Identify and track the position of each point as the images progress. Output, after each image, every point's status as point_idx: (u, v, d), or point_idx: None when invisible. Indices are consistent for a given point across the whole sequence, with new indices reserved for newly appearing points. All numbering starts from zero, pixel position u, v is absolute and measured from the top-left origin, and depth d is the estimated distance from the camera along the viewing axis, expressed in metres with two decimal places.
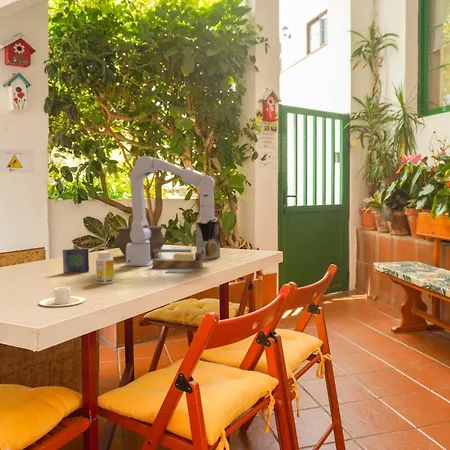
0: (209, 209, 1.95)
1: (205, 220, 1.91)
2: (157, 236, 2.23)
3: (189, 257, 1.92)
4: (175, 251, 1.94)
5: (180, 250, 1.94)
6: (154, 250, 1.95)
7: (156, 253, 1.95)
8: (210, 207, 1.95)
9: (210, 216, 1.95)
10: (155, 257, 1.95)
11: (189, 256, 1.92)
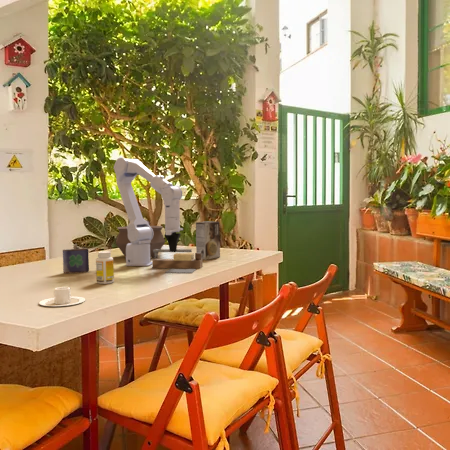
0: (174, 220, 1.91)
1: (169, 232, 1.86)
2: (157, 236, 2.23)
3: (189, 257, 1.92)
4: None
5: (180, 250, 1.94)
6: (154, 250, 1.95)
7: (156, 253, 1.95)
8: (175, 218, 1.91)
9: (175, 227, 1.91)
10: (155, 257, 1.95)
11: (189, 256, 1.92)
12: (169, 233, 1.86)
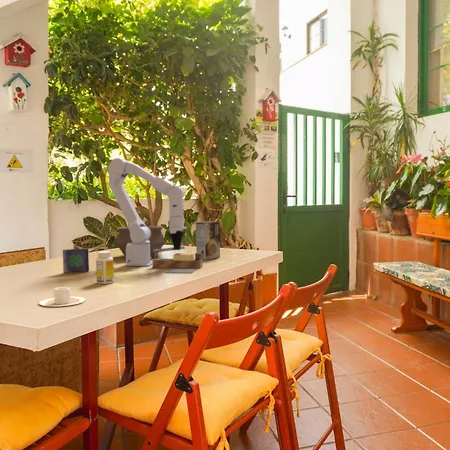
0: (178, 219, 1.97)
1: (173, 230, 1.93)
2: (157, 236, 2.23)
3: (189, 257, 1.92)
4: (172, 249, 2.01)
5: None
6: (157, 250, 1.95)
7: (157, 253, 1.96)
8: (179, 217, 1.98)
9: (179, 226, 1.98)
10: (157, 257, 1.95)
11: (189, 256, 1.92)
12: (173, 231, 1.93)
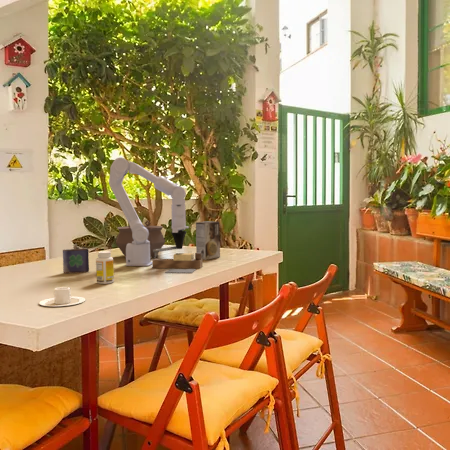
0: (180, 219, 2.01)
1: (176, 229, 1.97)
2: (157, 236, 2.23)
3: (189, 257, 1.92)
4: (170, 249, 2.02)
5: (173, 247, 2.04)
6: (157, 250, 1.95)
7: (157, 253, 1.96)
8: (181, 217, 2.01)
9: (181, 225, 2.02)
10: (157, 257, 1.95)
11: (189, 256, 1.92)
12: (176, 231, 1.97)
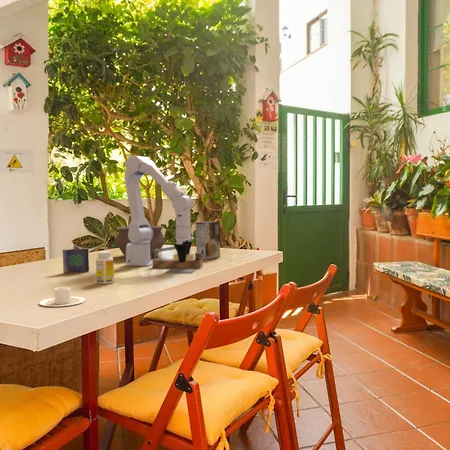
0: (185, 229, 1.91)
1: (180, 241, 1.87)
2: (157, 236, 2.23)
3: (189, 257, 1.92)
4: (170, 249, 2.02)
5: (173, 247, 2.04)
6: (157, 250, 1.95)
7: (157, 253, 1.96)
8: (186, 227, 1.91)
9: (186, 236, 1.91)
10: (157, 257, 1.95)
11: (189, 256, 1.92)
12: (180, 242, 1.87)
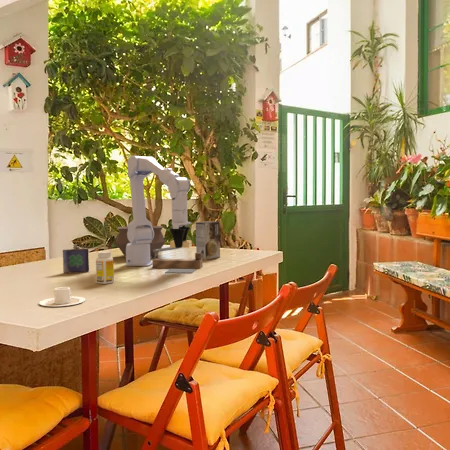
0: (181, 213, 1.81)
1: (176, 225, 1.76)
2: (157, 236, 2.23)
3: (186, 244, 1.81)
4: (170, 249, 2.02)
5: None
6: (157, 250, 1.95)
7: (157, 253, 1.96)
8: (182, 211, 1.81)
9: (182, 221, 1.81)
10: (157, 257, 1.95)
11: (186, 243, 1.81)
12: (176, 227, 1.76)
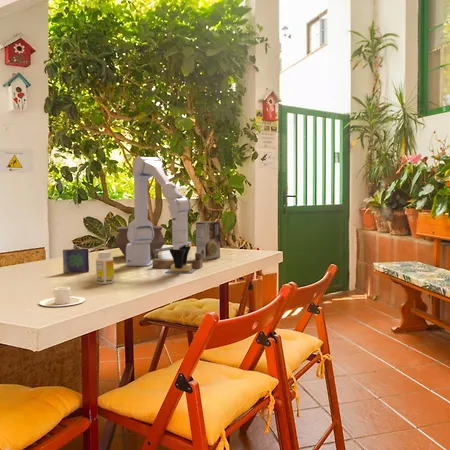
0: (182, 234, 1.81)
1: (177, 246, 1.77)
2: (157, 236, 2.23)
3: (187, 268, 1.82)
4: None
5: None
6: (157, 250, 1.95)
7: (157, 253, 1.96)
8: (183, 232, 1.81)
9: (183, 241, 1.81)
10: (157, 257, 1.95)
11: (187, 267, 1.82)
12: (177, 248, 1.77)
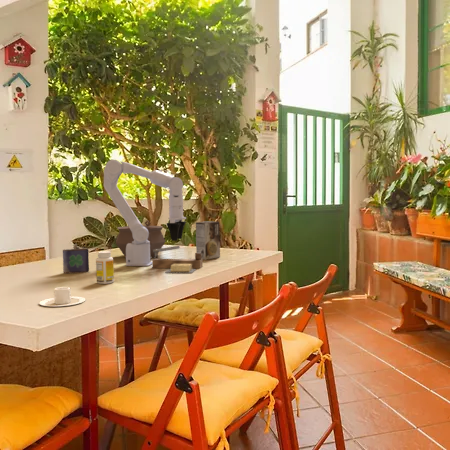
0: (177, 209, 2.01)
1: (173, 220, 1.97)
2: (157, 236, 2.23)
3: (187, 268, 1.82)
4: (170, 249, 2.02)
5: (173, 247, 2.04)
6: (157, 250, 1.95)
7: (157, 253, 1.96)
8: (178, 207, 2.01)
9: (179, 216, 2.01)
10: (157, 257, 1.95)
11: (187, 267, 1.82)
12: (173, 221, 1.97)
